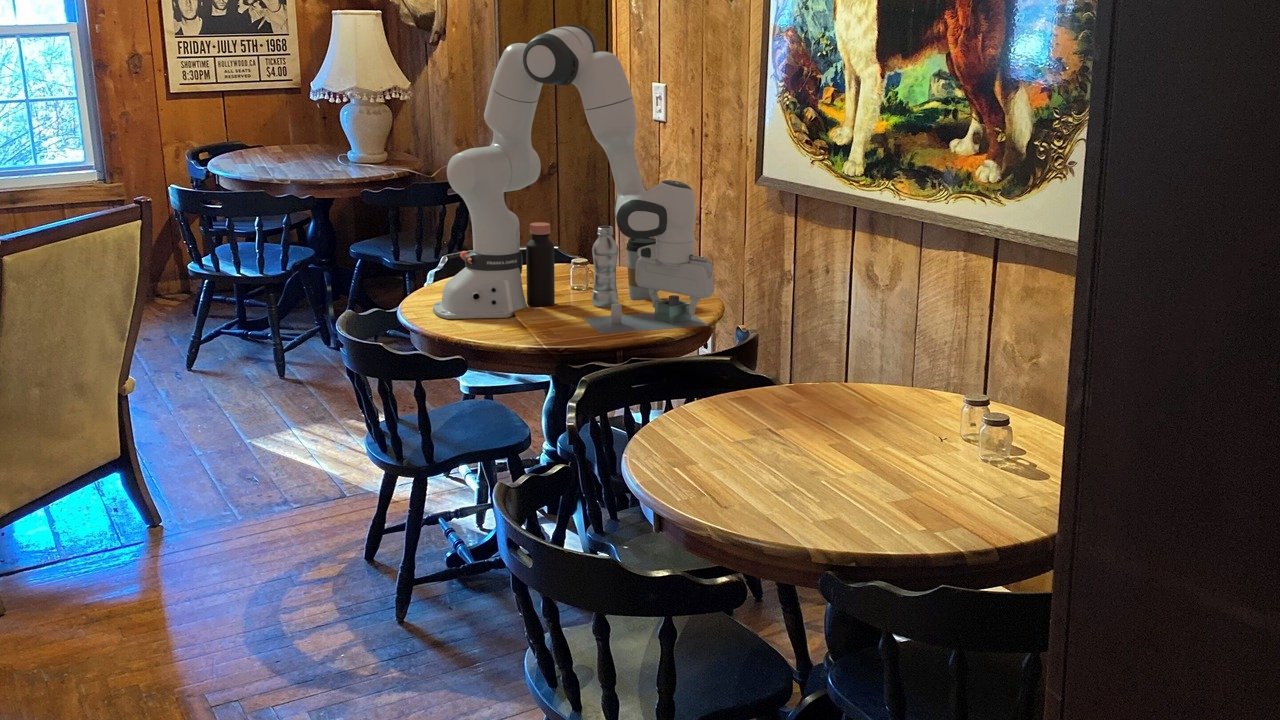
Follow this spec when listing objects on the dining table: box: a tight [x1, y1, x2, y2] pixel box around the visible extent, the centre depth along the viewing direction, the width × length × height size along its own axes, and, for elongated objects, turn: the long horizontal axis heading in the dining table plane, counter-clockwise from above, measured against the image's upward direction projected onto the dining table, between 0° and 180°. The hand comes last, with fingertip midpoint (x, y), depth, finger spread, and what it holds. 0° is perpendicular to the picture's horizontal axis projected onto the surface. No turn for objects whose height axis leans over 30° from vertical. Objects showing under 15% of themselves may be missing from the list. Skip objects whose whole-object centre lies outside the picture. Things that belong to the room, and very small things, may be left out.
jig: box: [582, 294, 710, 335], centre depth 271 cm, size 26×14×6 cm, turn 109°
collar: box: [654, 299, 691, 324], centre depth 273 cm, size 6×6×4 cm
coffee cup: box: [625, 237, 656, 301], centre depth 295 cm, size 8×8×15 cm
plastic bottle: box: [591, 225, 619, 309], centre depth 284 cm, size 6×7×20 cm
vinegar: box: [525, 221, 556, 308], centre depth 287 cm, size 7×7×20 cm
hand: (673, 310), depth 273 cm, fingers open, 8 cm apart
